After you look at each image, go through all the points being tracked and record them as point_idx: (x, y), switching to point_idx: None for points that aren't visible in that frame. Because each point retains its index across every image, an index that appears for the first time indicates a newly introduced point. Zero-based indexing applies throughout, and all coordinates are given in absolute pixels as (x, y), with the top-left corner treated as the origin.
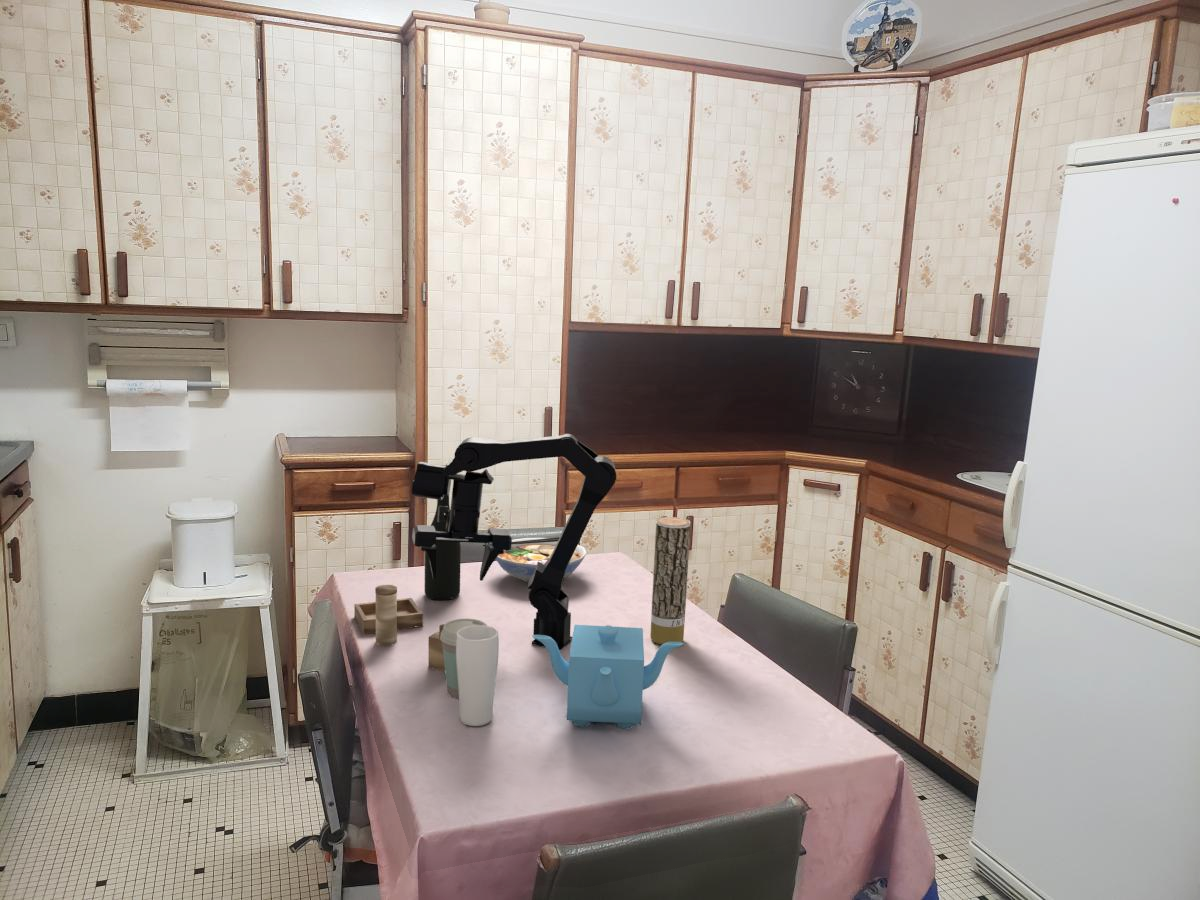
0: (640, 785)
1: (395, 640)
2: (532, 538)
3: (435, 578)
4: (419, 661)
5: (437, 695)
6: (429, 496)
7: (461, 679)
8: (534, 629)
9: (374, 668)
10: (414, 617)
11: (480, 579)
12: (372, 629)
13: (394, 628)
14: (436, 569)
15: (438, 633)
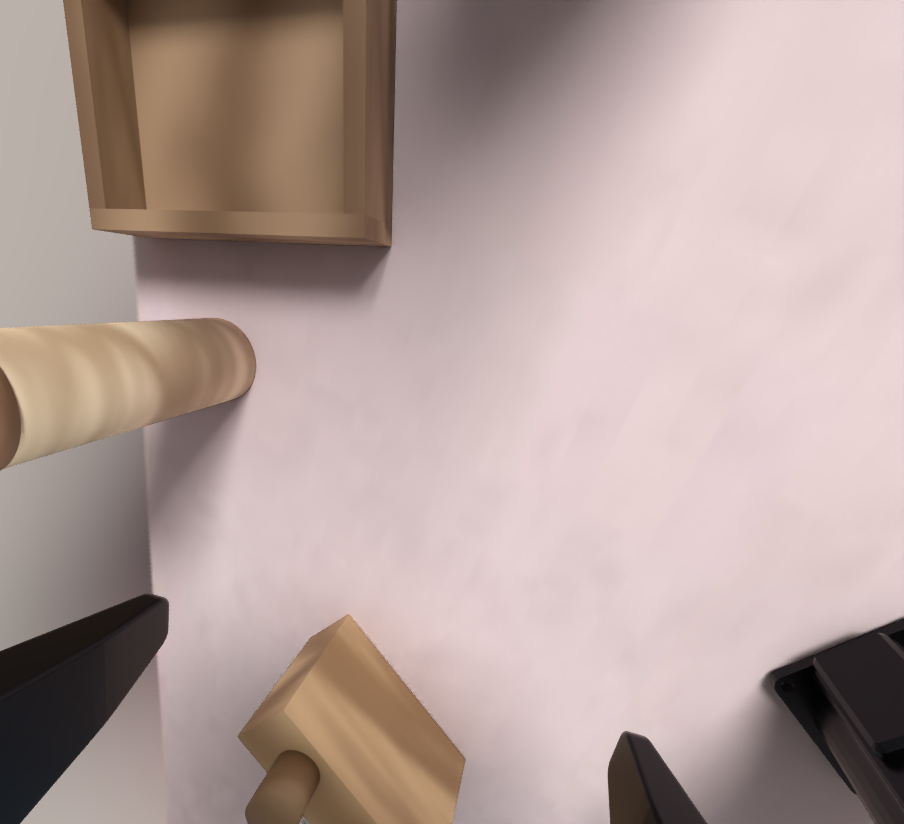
0: None
1: (240, 392)
2: None
3: (158, 648)
4: (295, 579)
5: None
6: None
7: None
8: (839, 701)
9: (162, 557)
10: (328, 238)
11: (610, 778)
12: (169, 237)
13: (196, 407)
14: (52, 784)
15: (281, 731)
